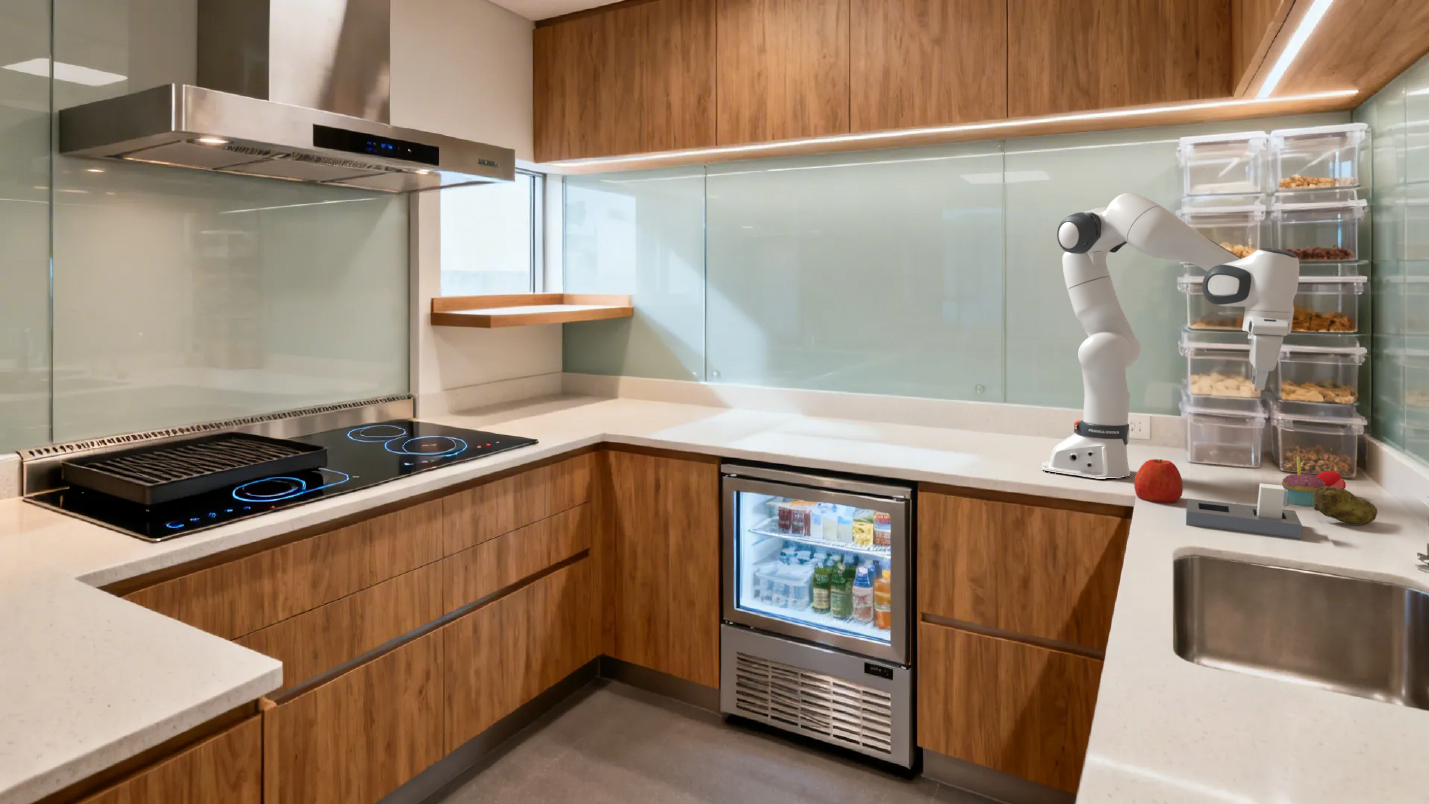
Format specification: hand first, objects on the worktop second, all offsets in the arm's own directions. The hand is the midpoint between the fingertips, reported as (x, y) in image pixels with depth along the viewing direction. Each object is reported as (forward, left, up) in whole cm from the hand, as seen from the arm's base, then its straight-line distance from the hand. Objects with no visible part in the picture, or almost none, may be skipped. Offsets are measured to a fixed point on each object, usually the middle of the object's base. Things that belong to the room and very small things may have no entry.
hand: (1257, 387), depth 178 cm
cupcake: (+12, +18, -29) cm, 37 cm away
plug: (+3, -12, -29) cm, 31 cm away
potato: (+18, +4, -29) cm, 35 cm away
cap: (+18, +30, -29) cm, 46 cm away
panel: (-2, -12, -29) cm, 31 cm away
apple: (-18, +3, -29) cm, 34 cm away
